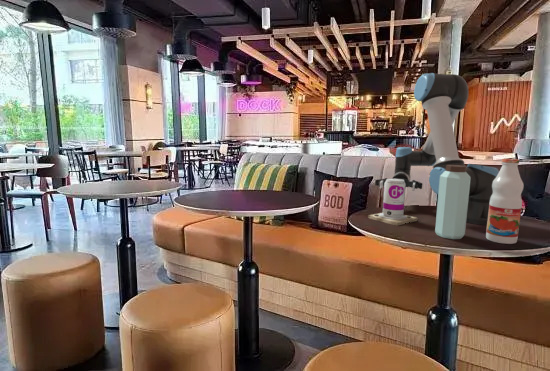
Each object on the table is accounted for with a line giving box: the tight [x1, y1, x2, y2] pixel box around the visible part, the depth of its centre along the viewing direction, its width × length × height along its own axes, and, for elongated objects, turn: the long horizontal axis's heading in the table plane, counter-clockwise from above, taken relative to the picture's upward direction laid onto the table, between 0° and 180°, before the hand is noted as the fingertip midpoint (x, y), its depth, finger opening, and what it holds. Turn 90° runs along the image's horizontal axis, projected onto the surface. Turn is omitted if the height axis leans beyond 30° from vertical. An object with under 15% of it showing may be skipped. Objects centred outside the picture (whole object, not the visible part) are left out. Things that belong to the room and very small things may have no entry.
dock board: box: [367, 212, 418, 226], centre depth 157 cm, size 14×14×2 cm
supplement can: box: [382, 178, 406, 218], centre depth 156 cm, size 8×8×15 cm
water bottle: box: [434, 165, 471, 240], centre depth 133 cm, size 10×10×25 cm
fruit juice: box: [485, 158, 525, 245], centre depth 129 cm, size 9×9×28 cm
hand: (396, 186), depth 163 cm, fingers open, 13 cm apart
